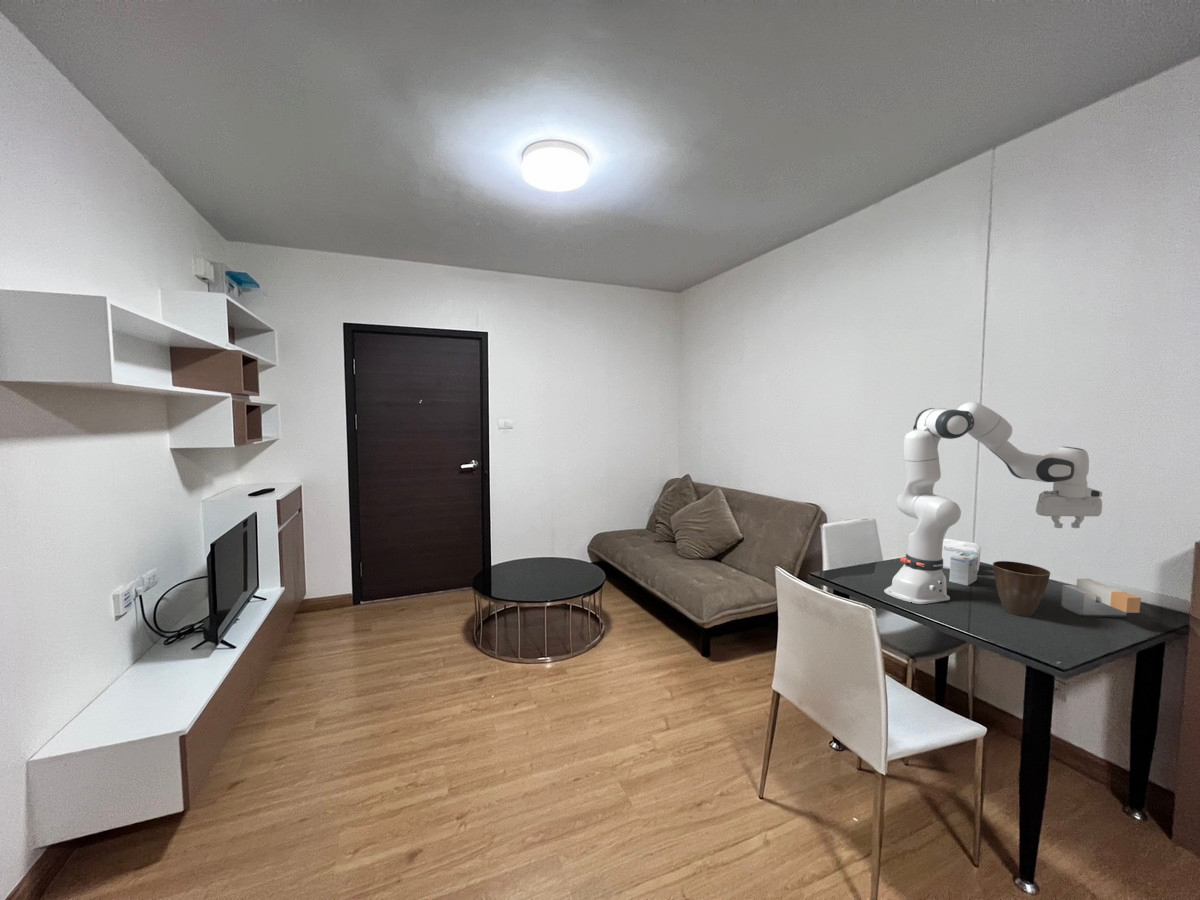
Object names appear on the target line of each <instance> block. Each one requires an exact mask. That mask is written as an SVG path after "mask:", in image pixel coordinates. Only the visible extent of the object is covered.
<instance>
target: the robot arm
mask: <svg viewBox="0 0 1200 900" xmlns="http://www.w3.org/2000/svg"><path fill="white" fill-rule="evenodd" d="M967 434H968V435H969V436H970V437H972V438H974V439H975V440H976V441H978V442H979V443H980V444H982V445H983V446H985V447H986V448H987V449H988V450H989V451H990V452H991V453H993V454H994V455H995V456H996V457H997V458H999V460H1001V461H1002V462H1003V463H1004V464H1005V466H1006V467H1007V468H1008V471H1009V472H1010V474H1011V475H1012V476H1013V477H1015V478H1017V479H1021V480H1030V481H1035V482H1042V483H1053V484H1052V485H1053V486H1052V490H1044V491H1042V492H1041V493H1039V494H1038V499H1037V502H1036V508H1035V512H1036V514H1037V515H1039V516H1042V517H1051V520H1052V522H1053V523H1054V524H1053V527H1054V528H1056V529H1063V524H1064V523H1061V521H1060V520H1061V517H1074V518H1075V520H1074V521H1073V522H1071V526H1070V527H1071V528H1073V529H1080V528H1081V524H1082V523H1083V522H1084V520H1085V517H1099V516H1100V515H1101V514H1102V513H1103V512H1102V511H1103V501H1102V499H1101V497H1103V492H1102V491H1101V490H1097V489H1094V488H1092V487H1088V483H1089V482H1088V480H1087V477H1088V474H1089V469H1090V459H1089V458H1090V457H1089V453H1088V452H1087V450H1086V449H1084V448H1081V447H1080V448H1079V447H1073V446H1072V447H1071V446H1059V447H1058V448H1057V449H1056V450H1054V451H1052V452H1049V453H1046V454H1044V455H1041V454H1035V453H1034V454H1033V453H1027V452H1023V451H1021V450H1019V449H1018V448H1017V447H1016V446H1014V445H1013V443H1011V442H1010V441H1009V439H1010V438H1011V437H1012V434H1013V426H1012V425H1011V424H1010V422H1008V420H1007V419H1006V418H1004V417H1003V416H1001V415H1000V414H999V413H997V412H996V411H994V410H992V409H991V408H990V407H987V406H985V405H984V404H981V403H979V402H976V401H968V402H965V403H963V404H961V405H960V406H958V408H957V409H951V408H945V407H939V408H938V407H935V408H934V407H931V408H927V409H924V410H921V411H920V412H919V413H917V416H916V418H915V420H914V424H913V430H911V431H908V432H907V433H906V434H905V436H904V437H903V449H902V450H903V460H904V461H903V462H904V473H905V483H904V488H903V490H902V492H901V493H899V495H898V496H897V498H896V507H897V508H898V510H899V511H900V512H901V513H902V514H904V515H906V516H907V517H909V518H912V519H915V520H918V522H917V525H916V529H915V530H913V531H911V532H910V533H909V535H908V537H907V552H906V554H905V557H904V556H902V557H901V558H900V563H903V566H901V568H900V569H899V570H898V571H897V573H896V574H895V575H894V576H893V577H892V582H891V585H890V586H888V587H886V588H884V590H883V592H884V593H885V594H886V595H889V596H891V597H893V598H895V599H897V600H898V599H899V600H900V601H904V602H908V603H911V602H912V604H917V605H926V604H932V603H938V602H945V601H950V600H951V597H950V596H949V595H948V594H947V577H946V575H945V574H944V571H943V569H944V568H943V559H942V549H943V540H944V539H945V537H946V534H947V532H948V531H949V529H950V527H953V526H955V524H957V523H958V522H959V521H960V518H961V514H962V510H961V508H960V507H961V506H960V505H959V504H958V503H956V502H955V501H953V500H952V499H949V498H948V497H945V496H942V495H937V494H934V486H935V484H936V483H937V482H939V480H940V479H941V477H942V472H941V465H940V464H941V463H940V455H939V451H938V449H939V448H938V447H939V443H940V441H941V439H947V440H953V439H959V438H960V437H963V436H965V435H967Z"/></svg>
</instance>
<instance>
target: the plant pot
mask: <svg viewBox="0 0 1200 900" xmlns="http://www.w3.org/2000/svg"><path fill="white" fill-rule="evenodd" d="M992 567H993V568H992V569H993V575H994V581H995V586H996V590H997V593H998V596H999V600H1000V602H1001V605H1002V609H1003V610H1004V611H1005V612H1006V613H1009V614H1012V615H1015V616H1021V617H1032V616H1033V615H1034V613H1035V612H1036V610H1037V608H1038V606H1039V605H1040V603H1041V602H1042V599H1043V597H1044V595H1045V593H1046V589H1047V587H1048V583H1049V580H1050V576H1051V571H1050V570H1048V569H1046V568H1043V567H1040V566H1037V565H1034V564H1028V563H1023V562H1018V561H1010V560H1009V561H1008V560H1007V561H1006V560H999V561H994V562H993V563H992Z"/></svg>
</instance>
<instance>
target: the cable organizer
mask: <svg viewBox="0 0 1200 900" xmlns="http://www.w3.org/2000/svg"><path fill="white" fill-rule="evenodd" d="M981 549H982V548H981V545H980V544H978V543H976V542H969V541H963V540H958V539H950V538H944V540H943V549H942V559H943V568H942V569H946V570H949V571H950V559H951V556H953V555H955V554H957V553H959V552H963V553H968V554H973V555H978V567H977V573H978V572H979V570H980V565H981Z"/></svg>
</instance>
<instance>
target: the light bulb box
mask: <svg viewBox="0 0 1200 900" xmlns="http://www.w3.org/2000/svg"><path fill="white" fill-rule="evenodd" d="M977 567H978V555H973V554H968V553H963V552H959V553H957V554H955V555H953V556H951V559H950V570H949V579H948V580H949V582H951V583H955V584H958V585H962V586H969V585H970V586H971V584H973V583H974V582H976V581H977V579H978V572H977Z"/></svg>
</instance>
